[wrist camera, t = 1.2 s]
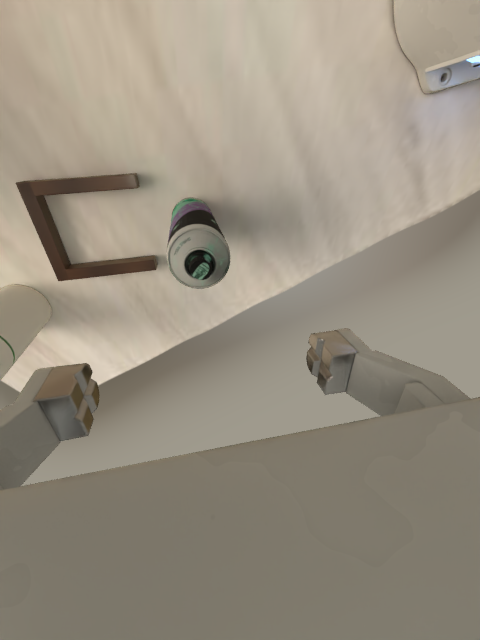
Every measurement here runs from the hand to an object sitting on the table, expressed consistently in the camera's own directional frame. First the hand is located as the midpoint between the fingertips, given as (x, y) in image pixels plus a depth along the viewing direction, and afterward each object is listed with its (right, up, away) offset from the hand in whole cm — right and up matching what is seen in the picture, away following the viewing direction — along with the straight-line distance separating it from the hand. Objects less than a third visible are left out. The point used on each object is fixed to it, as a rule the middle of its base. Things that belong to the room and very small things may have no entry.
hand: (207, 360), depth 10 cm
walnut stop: (-18, +14, +26) cm, 34 cm away
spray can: (-5, +16, +28) cm, 32 cm away
